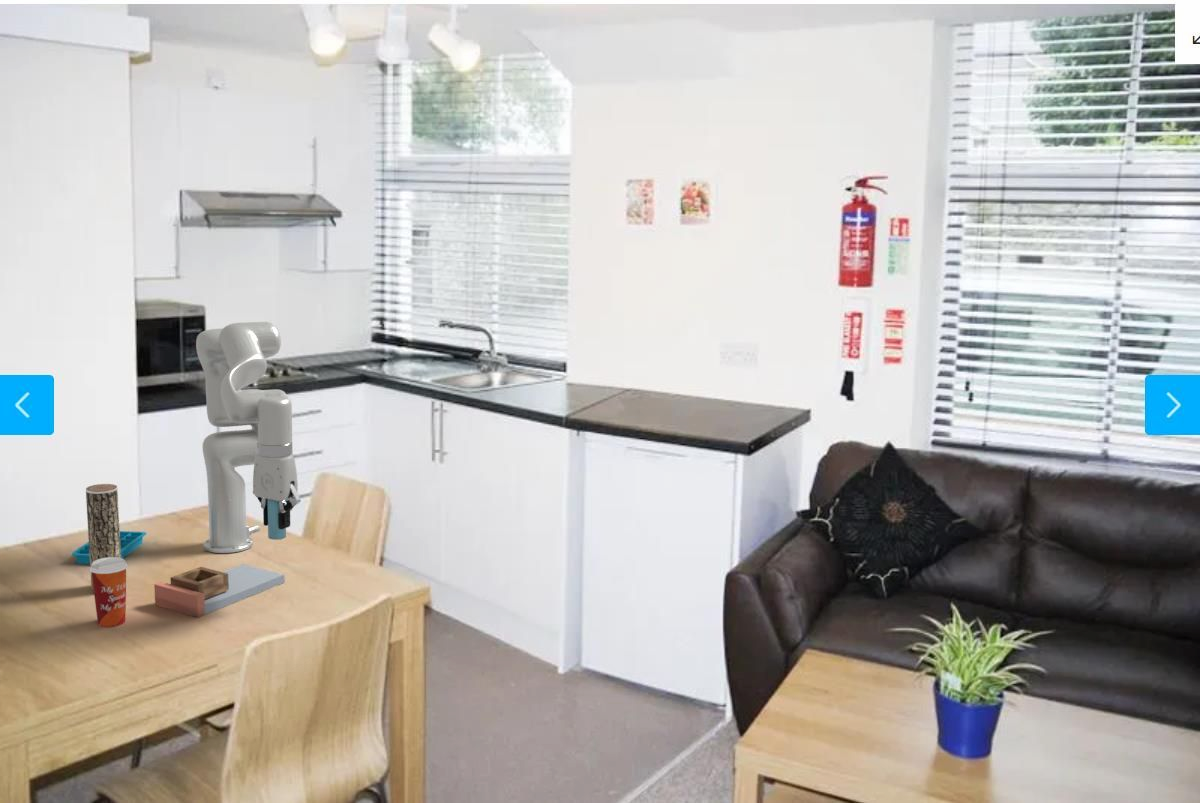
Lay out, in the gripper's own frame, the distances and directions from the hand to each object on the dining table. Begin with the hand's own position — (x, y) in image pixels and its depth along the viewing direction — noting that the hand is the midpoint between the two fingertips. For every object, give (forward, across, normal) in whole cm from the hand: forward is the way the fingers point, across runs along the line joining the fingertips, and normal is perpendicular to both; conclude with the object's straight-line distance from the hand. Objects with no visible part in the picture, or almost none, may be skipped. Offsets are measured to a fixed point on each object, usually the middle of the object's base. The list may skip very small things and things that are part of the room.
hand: (277, 525), depth 257 cm
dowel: (+3, 0, 0) cm, 3 cm away
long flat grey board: (+19, -15, -4) cm, 24 cm away
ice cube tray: (+20, -61, +1) cm, 64 cm away
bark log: (+19, -40, -16) cm, 47 cm away
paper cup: (+19, -21, -29) cm, 41 cm away
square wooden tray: (+16, -15, -10) cm, 24 cm away
